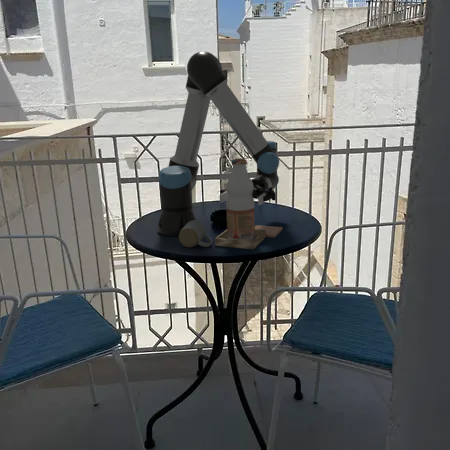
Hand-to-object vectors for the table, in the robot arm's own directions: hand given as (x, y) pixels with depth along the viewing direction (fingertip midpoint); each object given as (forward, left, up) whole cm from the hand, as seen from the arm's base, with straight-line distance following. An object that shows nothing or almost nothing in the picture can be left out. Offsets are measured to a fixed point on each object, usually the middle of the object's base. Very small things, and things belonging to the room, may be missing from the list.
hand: (239, 200), depth 151 cm
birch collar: (0, +2, -15) cm, 15 cm away
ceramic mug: (-14, -6, -15) cm, 21 cm away
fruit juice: (0, +2, -15) cm, 15 cm away
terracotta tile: (+5, +14, -15) cm, 21 cm away
